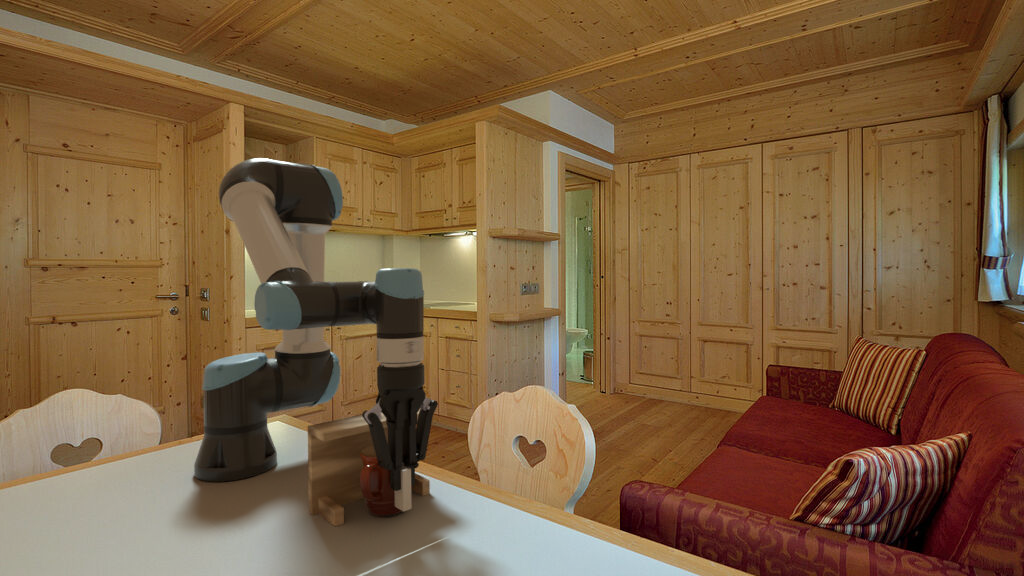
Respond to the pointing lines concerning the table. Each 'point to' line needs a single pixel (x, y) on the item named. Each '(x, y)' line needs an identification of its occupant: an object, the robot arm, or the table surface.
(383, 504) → the mug
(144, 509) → the table surface
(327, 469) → the wooden standing sign
